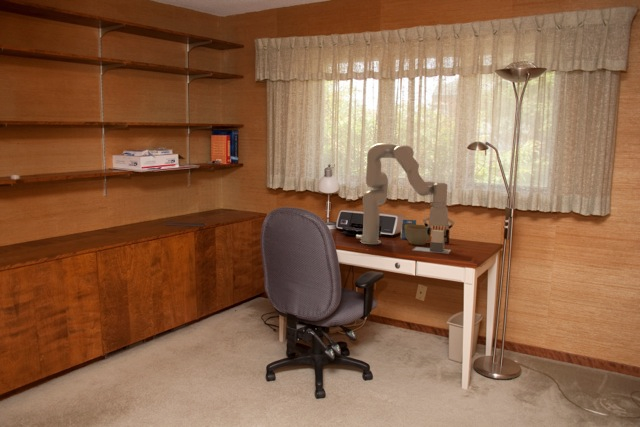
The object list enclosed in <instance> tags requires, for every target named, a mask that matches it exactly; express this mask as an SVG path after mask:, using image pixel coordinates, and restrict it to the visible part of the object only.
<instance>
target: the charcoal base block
mask: <svg viewBox="0 0 640 427" xmlns="http://www.w3.org/2000/svg"><path fill="white" fill-rule="evenodd" d="M445 245H446V244H445V241H443V243H435V242H431V241H430V244H429V248H430V251H435V252H443V251H444V249H445ZM435 252H434V253H435Z"/></svg>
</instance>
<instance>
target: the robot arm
mask: <svg viewBox="0 0 640 427" xmlns="http://www.w3.org/2000/svg"><path fill="white" fill-rule="evenodd" d="M414 152H415V151H414V150H413V148H412V147H411V146H410V145H405V144H398V143H397V144H396V143H390V142H389V143H388V142H386V143H384V142H383V143H382V142H380V143H376V144H374V145H371V147H370V148H369V149H368V151H367V158H366V160H367V161H366V172H365V175H366V176H365V184H366V186H367V187H369V189H370V188H371V189H370V190H367V191H365V193H364V194H363V196H362V206H363V217H362V218H363V220H362V221H363V224H362V234H356V235H355V238H356V239H360V240H359V243H360V242H361V244H363V245H379V244H381V243H382V241H381V240H380V239H379V236H380V231H379V230H380V207H379V206H381V205H384V204H385V203H386V201H387V198H388V187H389V186H388V185H389V178H388V175H387V174H386V173H385V172H383V171H382V161H381V159H389V158H390V159H395V160H396V161H397V162H398V164H399V165H400V167H401V168H402V169H403V170H404V172H405V173H406V177H407V180H408V182H409V184H410V186H411V187H412V189H413V190H414V191H415V192H416V193H417V194H418V195H419V196H423V197H425V196H426V197H427V196H430V195H431V196H432V202H430V203H429V205H430V206H431V207H430V211H429V216H428V217H426V218H424V219H422V222H423V225H425V226H426V227H427V234H428V235H430V229H431V228H430V227H433V226H435V227H436V226H438V227H439V226H440V227H442V226H443V227H446V237H447V236H448V235H449V236H450V234H449V231H450V230H451V229H452V228H453V226H454V225H455V220H452V219H450V218H449V210H448V207H447V202H448V201H447V200H448V184H447V183H445V182H434V181H425V180H424V179H423V178H422V176H421V175H420V173H419V168H420V164H419V163H418V162H417V160H416V158H415V157H414ZM427 222H428V223H427ZM449 223H450V224H449ZM448 224H449V226H448ZM430 236H431V235H430Z"/></svg>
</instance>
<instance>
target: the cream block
mask: <svg viewBox="0 0 640 427" xmlns="http://www.w3.org/2000/svg"><path fill="white" fill-rule="evenodd" d="M430 238H431V239H430V242H435V243H443V241H444V231H441V229H440V230H433V231H432V230H431V236H430Z"/></svg>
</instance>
